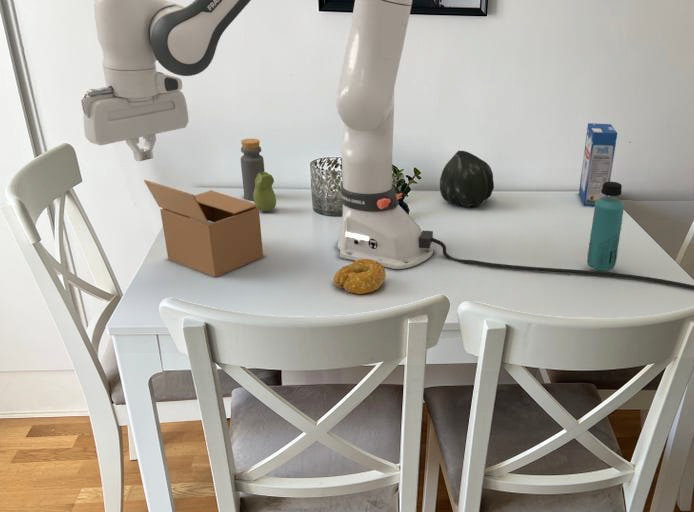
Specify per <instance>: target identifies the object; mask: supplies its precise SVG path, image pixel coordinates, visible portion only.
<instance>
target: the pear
mask: <svg viewBox="0 0 694 512" xmlns="http://www.w3.org/2000/svg"><path fill="white" fill-rule="evenodd" d="M274 182H275V180H274V177H273V175H272V174H269V173H268V172H267V171H265V172H259V174H257V177H256V178H255V189H254V193H253V198H254V200H253V203H254V204H258V206H256V207H258V208H259V212H260V211H261V212H264V213H267V212H271V211H272V210H274V209H275V208H276V206H277V197H276V193H275V191H274V189H273V185H274Z"/></svg>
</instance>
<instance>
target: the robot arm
mask: <svg viewBox="0 0 694 512" xmlns="http://www.w3.org/2000/svg"><path fill="white" fill-rule="evenodd" d="M251 1H252V0H193V1H192V2H191V3H190V4H188V5H187V6H184V5H180V4H178V3H174V2H172V1H168V0H94V4H93V6H94V7H93V8H94V20H95V27H96V28H95V29H96V36H97V40H98V42H99V43H98V44H99V45H100V48H101V49H102V50H101V51H102V70H103V75H104V80H105V86H104V87H100V88H97V89H96V88H91V89H90V88H89V89H88V90H87V91H86V93H84V94H83V95H82V97H81V99H80V104H81V108H82V109H81V110H82V113H83V114H82V115H83V118H82V119H83V130H84V135H85V139H86V140H87V141H88V142H90V144H94V145H97V146H105V145H110V144H115V143H120V142H124V141H125V144H126V145H127V146H128V147H129V149H130V150H131V151H132V154H133V158H134V161H136V162H144V161H148V160H153V159H154V155H153V150H154V147H155V144H156V142H157V137H156V135H158V134H162V133H167V132H171V131H176V130H181V129H185V128H187V126H188V124H189V110H188V105H187V100H186V97H185V94H184V93H183V92H182V91H181V90H182V89H183V81H182V79H181V78H180V77H176V76H173V75H169V74H165V73H163V72H162V71H161V72H160V71H157V66H156V65H157V64H156V62H158V63H159V64H160V66H162V67H163V68H164V69H165V70H167V71H168V72H169V73H172V74H174V75H177V76H181V77H191V76H195V75H198V74H201V73H202V72H204V71H205V70H206V69H207V68H208V67H209V66H210V64H211V63H212V61H213V59H214V57H215V53H216V51H217V47H218V44H219V42H220V39H221V37H222V35H223V34H224V32H225V31H226V29H228V27H229V26H230V25H231V24H232V23H233V21H235V19H236V18H237V17H238V16H239V14H241V12H242V11H243V10H244V9H245V8H246V7H247V6H248V4H249V3H250V2H251ZM412 5H413V0H354V4H353V9H352V10H353V11H352V17H351V22H350V28H349V29H350V30H349V34H348V38H347V42H346V47H345V51H344V52H345V53H344V56H343V60H342V61H343V62H342V67H341V71H340V78H339V81H338V86H337V91H336V96H335V97H336V99H335V104H336V110H337V113H338V115H339V118H340V120H341V121H342V139H341V141H342V142H341V175H342V176H341V177H342V179H341V180H342V184H341V186H340V203H341V204H342V217H341V225H340V233H339V237H338V241H337V249H338V250H339V258H341V259H345V260H349V261H353V262H355V261H356V260H361V259H371V260H374V261H377V262H379V263H380V264H381V265H383V267H384V268H389V269H393V270H403V269H409V268H411V267H412V268H413V267H415V266H417V265H420V264H422V263H423V262H425V261H427V260H428V259H430V258H431V257H432V255H433V253H434V251H433V250H434V249H433V247H432V244H433V243H434V244H436V245H439V247H441V249H442V255H443V256H444V257H445V258H446V259H448V260H450V261H454V262H457V263H461V264H465V265H477V266H482V267H488V268H496V269H497V268H499V269H508V270H509V269H510V270H519V271H529V272H546V273H556V274H557V273H559V274H574V275H575V274H576V275H587V276H600V277H601V276H602V277H612V278H620V279H621V278H622V279H630V280H637V281H638V280H639V281H645V282H650V283H651V282H652V283H657V284H662V285H668V286H674V287H679V288H685V289H690V290H694V284H689V283H684V282H680V281H675V280H674V281H673V280H669V279H664V278H657V277H651V276H643V275H638V274H628V273H620V272H610V271H601V270H587V269H573V268H555V267H542V266H541V267H540V266H527V265H516V264H515V265H514V264H505V263H494V262H486V261H482V260H475V259H461V258H460V259H459V258H456V257H455V258H454V257H452V256H451V255H450V254H448V252H447V246H446V244H445V243H444V242H443V241H441V240H439V239H436V238H434V231H433V230H424V229H423V230H422V228H421V226H420V225H419V224H418V223H417V222H416V221H415V220H414V219H413V217H411V216H410V215H409V214H408V213H407V211H406V210H404V209H403V207H402V206H400V204H399V203H400V202H399V200H400V199H402V198H403V196H402V195H403V192H400V193H397V192H396V189H395V186H394V185H393V146H394V145H393V144H394V119H395V87H396V81H397V77H398V72H399V68H400V63H401V60H402V59H401V58H402V53H403V50H404V44H405V39H406V35H407V30H408V26H409V25H408V24H409V20H410V15H411V10H412ZM140 138H142V139H143V140H144V143H143V147H142V148H140V147H139V145H138V144H140Z"/></svg>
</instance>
